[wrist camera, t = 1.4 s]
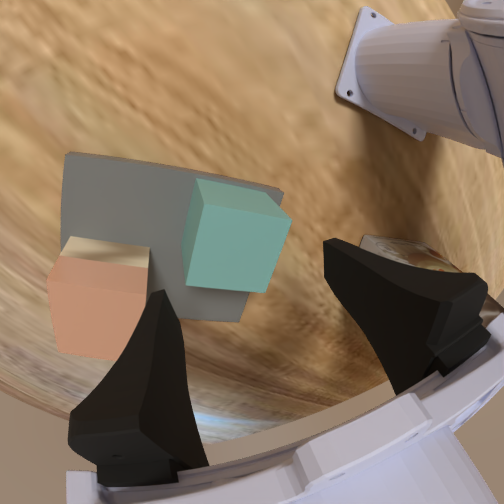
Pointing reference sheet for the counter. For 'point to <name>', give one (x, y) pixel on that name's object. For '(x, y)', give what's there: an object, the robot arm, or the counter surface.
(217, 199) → the teal block
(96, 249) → the maple slab
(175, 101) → the counter surface
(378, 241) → the coffee box
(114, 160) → the slate board
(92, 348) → the terracotta slab
